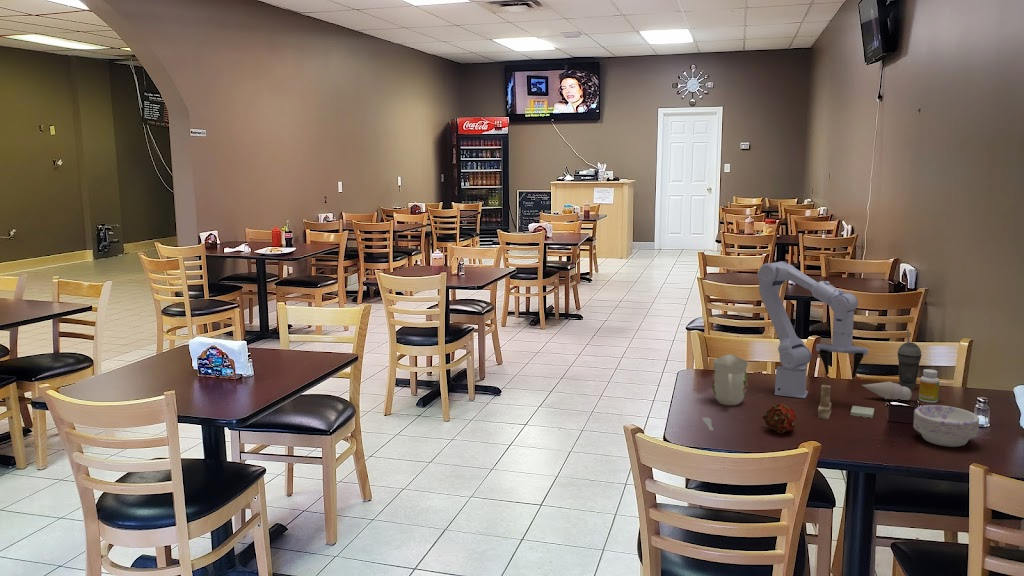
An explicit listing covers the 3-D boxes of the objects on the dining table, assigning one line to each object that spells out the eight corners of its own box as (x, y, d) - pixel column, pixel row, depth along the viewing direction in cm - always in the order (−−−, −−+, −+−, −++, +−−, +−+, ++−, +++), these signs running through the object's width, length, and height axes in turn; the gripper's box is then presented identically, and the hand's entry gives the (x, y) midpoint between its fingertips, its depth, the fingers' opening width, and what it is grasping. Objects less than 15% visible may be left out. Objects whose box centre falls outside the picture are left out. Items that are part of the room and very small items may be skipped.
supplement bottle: (937, 403, 239) (940, 373, 238) (918, 401, 242) (920, 371, 240) (938, 399, 244) (940, 369, 242) (918, 397, 246) (921, 367, 245)
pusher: (817, 418, 226) (819, 388, 225) (820, 410, 233) (821, 382, 232) (828, 419, 225) (830, 390, 224) (830, 412, 232) (832, 383, 231)
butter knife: (711, 417, 228) (701, 417, 228) (725, 445, 204) (713, 445, 204) (711, 418, 228) (701, 418, 228) (725, 447, 204) (713, 446, 204)
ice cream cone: (857, 397, 246) (907, 407, 243) (863, 390, 241) (914, 400, 238) (858, 380, 249) (908, 390, 246) (864, 372, 244) (915, 382, 241)
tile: (850, 411, 229) (872, 414, 226) (852, 405, 235) (874, 408, 232) (850, 416, 229) (872, 419, 226) (852, 410, 235) (873, 413, 232)
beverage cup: (909, 392, 252) (914, 332, 249) (890, 386, 258) (894, 328, 256) (924, 389, 255) (928, 330, 252) (904, 383, 262) (908, 326, 259)
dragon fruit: (780, 444, 210) (773, 435, 221) (806, 427, 208) (799, 419, 220) (761, 418, 211) (756, 411, 222) (788, 401, 209) (781, 394, 221)
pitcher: (710, 410, 235) (711, 366, 233) (711, 394, 252) (712, 353, 250) (747, 413, 232) (749, 368, 230) (746, 396, 249) (748, 355, 247)
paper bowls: (950, 455, 196) (953, 425, 195) (899, 436, 210) (901, 408, 209) (990, 446, 202) (992, 417, 201) (938, 429, 216) (940, 401, 215)
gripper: (816, 332, 235) (813, 375, 237) (867, 337, 229) (865, 381, 231) (818, 328, 242) (816, 370, 244) (869, 332, 235) (866, 375, 237)
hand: (840, 375), depth 238 cm, fingers open, 7 cm apart
